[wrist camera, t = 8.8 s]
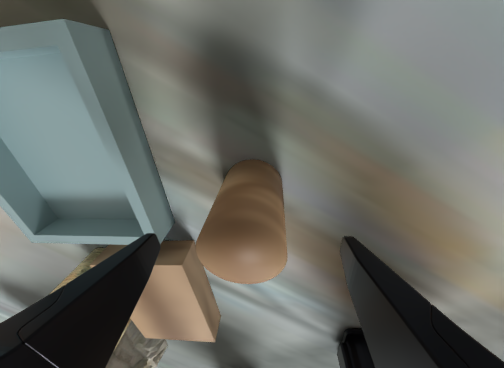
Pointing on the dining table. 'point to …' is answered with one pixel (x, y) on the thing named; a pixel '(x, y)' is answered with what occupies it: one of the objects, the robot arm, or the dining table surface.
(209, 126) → the dining table surface
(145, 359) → the ceramic cottage
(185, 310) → the board
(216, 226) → the dowel
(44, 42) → the tray
